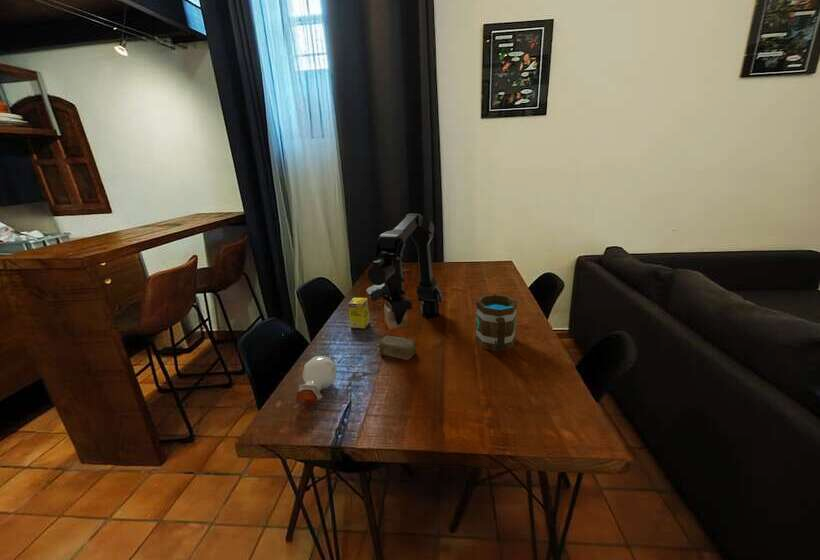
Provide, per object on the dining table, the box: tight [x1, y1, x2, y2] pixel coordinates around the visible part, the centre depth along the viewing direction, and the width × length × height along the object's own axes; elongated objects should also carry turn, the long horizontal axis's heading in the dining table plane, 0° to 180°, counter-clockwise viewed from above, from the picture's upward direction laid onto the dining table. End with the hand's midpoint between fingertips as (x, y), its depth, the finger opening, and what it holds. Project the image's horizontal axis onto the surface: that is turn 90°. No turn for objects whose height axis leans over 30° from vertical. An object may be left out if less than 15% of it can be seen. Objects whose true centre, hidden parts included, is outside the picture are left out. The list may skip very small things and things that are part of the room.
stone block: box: [378, 335, 417, 361], centre depth 114 cm, size 6×12×5 cm, turn 66°
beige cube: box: [383, 303, 409, 330], centre depth 111 cm, size 6×6×6 cm
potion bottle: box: [295, 355, 338, 410], centre depth 96 cm, size 9×10×15 cm
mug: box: [474, 293, 518, 353], centre depth 113 cm, size 20×14×15 cm
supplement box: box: [347, 297, 371, 331], centre depth 133 cm, size 6×6×11 cm
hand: (396, 320), depth 111 cm, fingers closed on beige cube, 6 cm apart
